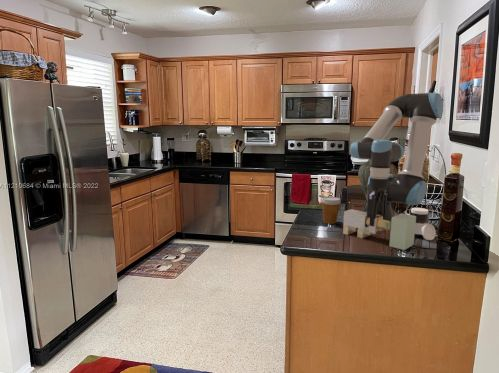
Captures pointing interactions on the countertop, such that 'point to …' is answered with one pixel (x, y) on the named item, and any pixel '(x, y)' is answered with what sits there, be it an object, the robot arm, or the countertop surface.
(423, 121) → the robot arm
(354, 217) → the white blocky legged figure
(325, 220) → the disposable coffee cup
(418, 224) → the flanged pipe fitting
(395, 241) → the socket block
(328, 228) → the countertop surface
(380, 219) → the cylinder on square base
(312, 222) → the countertop surface
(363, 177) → the vase
